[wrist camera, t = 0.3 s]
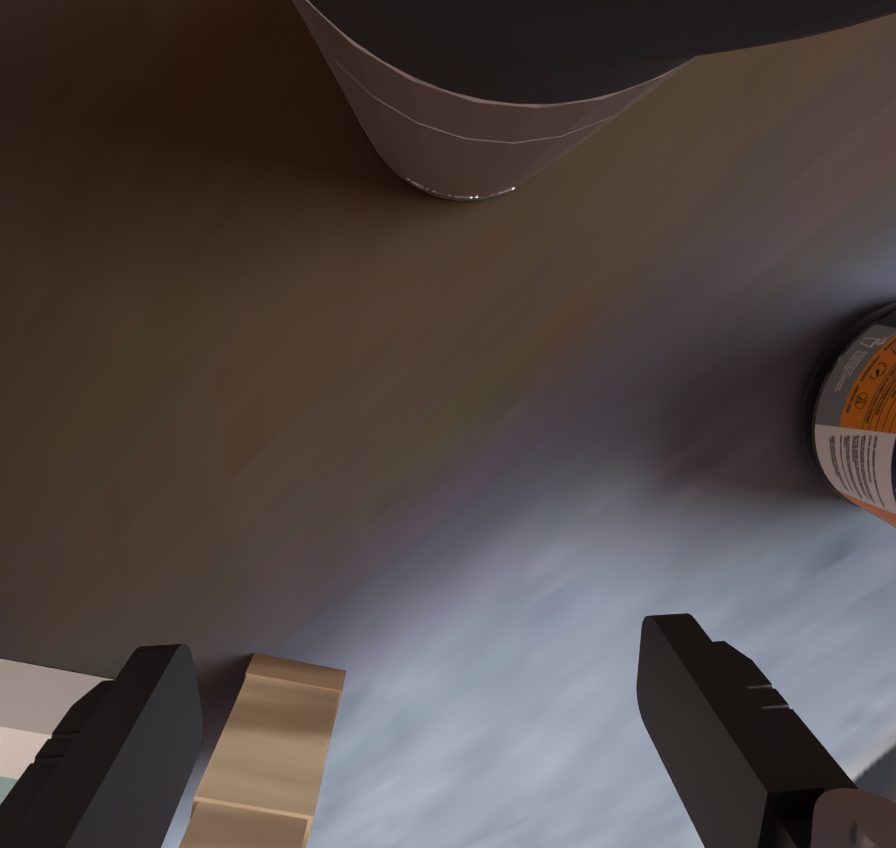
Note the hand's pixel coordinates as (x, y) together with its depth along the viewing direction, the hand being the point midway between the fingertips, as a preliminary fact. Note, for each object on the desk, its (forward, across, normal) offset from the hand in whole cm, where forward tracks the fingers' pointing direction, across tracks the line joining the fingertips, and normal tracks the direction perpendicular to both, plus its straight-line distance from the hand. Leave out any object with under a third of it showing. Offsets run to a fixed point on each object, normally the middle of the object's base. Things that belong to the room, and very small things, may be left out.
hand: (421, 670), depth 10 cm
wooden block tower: (+18, +7, +17) cm, 26 cm away
